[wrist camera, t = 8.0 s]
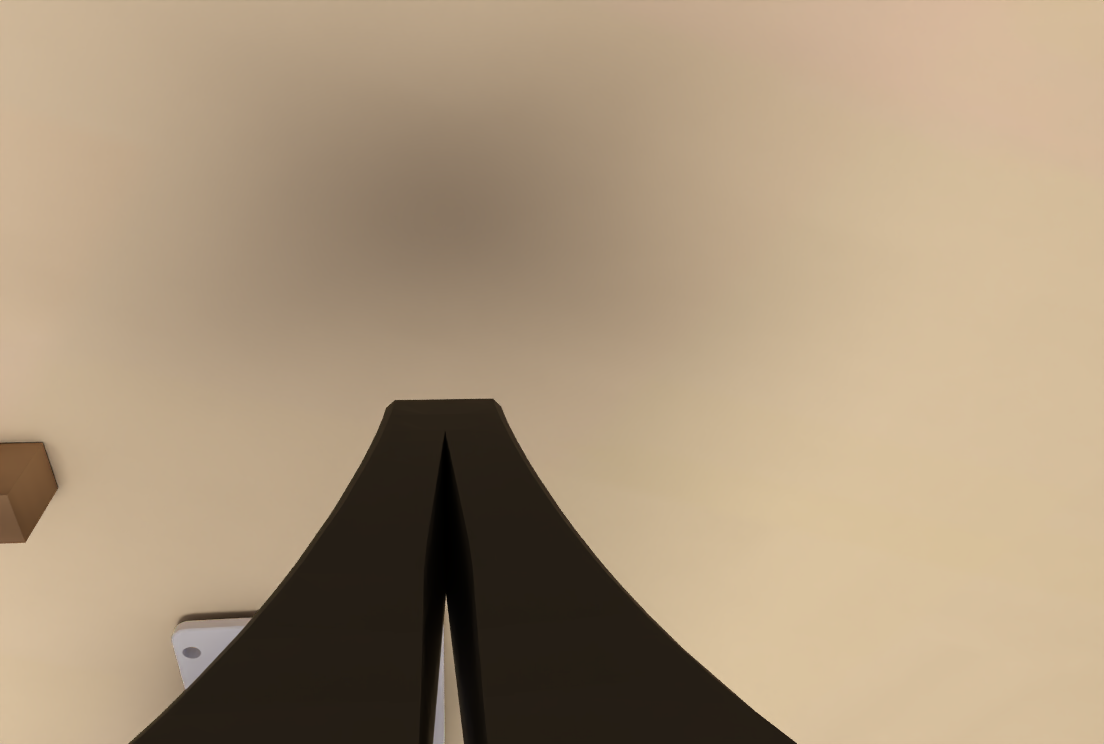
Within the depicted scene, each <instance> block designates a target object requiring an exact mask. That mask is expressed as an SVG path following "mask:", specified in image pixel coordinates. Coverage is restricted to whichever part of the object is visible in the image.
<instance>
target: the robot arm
mask: <svg viewBox="0 0 1104 744" xmlns="http://www.w3.org/2000/svg"><path fill="white" fill-rule="evenodd" d="M446 596H447V605H448V613H449V622H450V630H451V639H452V647H453V655H454V664H455V672H456V680H457V689H458V697H459V705H460V714H461V722H462V730H463V738H464V744H797V743H796V742H794V741H793V740H792V739H790V738H789V737H788V736H787V735H785V734H784V733H783V732H781V731H780V730H779V729H777V728H776V727H775V726H774V725H772V724H771V723H770V722H768V721H767V720H766V719H764V718H763V717H762V716H761V715H759V714H758V713H757V712H755V711H754V710H753V709H752V708H751V707H750V706H748V705H747V704H746V703H745V702H744V701H743V700H741V699H740V698H739V697H738V696H737V695H736V694H735V693H733V692H732V691H731V690H730V689H729V688H728V687H727V686H725V685H724V684H723V683H722V682H721V681H720V680H718V679H717V678H716V677H715V676H714V675H713V674H712V673H710V672H709V671H708V670H707V669H706V668H705V667H704V666H702V665H701V664H700V663H699V662H698V661H697V660H695V659H694V658H693V657H692V656H691V655H690V654H689V653H687V652H686V651H685V650H684V649H683V648H682V647H681V646H680V645H679V644H678V643H677V642H676V641H675V640H674V639H673V638H672V637H671V636H670V635H669V634H668V633H667V632H666V631H665V630H664V629H663V628H662V627H661V626H660V625H659V624H658V623H657V622H656V621H654V620H653V619H652V618H651V617H650V616H649V615H648V614H647V613H646V611H645V610H644V609H643V608H642V607H641V606H640V605H639V604H638V603H637V602H636V601H635V600H634V599H633V598H632V596H631V595H630V594H629V593H628V592H627V591H626V590H625V589H624V588H623V587H622V586H621V585H620V583H619V582H618V581H617V580H616V579H615V578H614V577H613V575H612V574H611V573H610V572H609V571H608V570H607V569H606V567H605V566H604V565H603V564H602V563H601V561H600V560H599V559H598V558H597V557H596V555H595V554H594V553H593V552H592V550H591V549H590V548H589V546H588V545H587V544H586V543H585V541H584V540H583V539H582V538H581V536H580V535H579V534H578V532H577V531H576V530H575V529H574V527H573V526H572V525H571V523H570V522H569V520H568V519H567V518H566V516H565V515H564V514H563V512H562V511H561V509H560V508H559V507H558V505H557V504H556V502H555V501H554V499H553V498H552V496H551V495H550V493H549V492H548V490H547V489H546V487H545V486H544V484H543V483H542V481H541V480H540V478H539V477H538V475H537V474H536V472H535V470H534V469H533V467H532V466H531V464H530V462H529V461H528V459H527V457H526V456H525V454H524V452H523V450H522V449H521V447H520V445H519V443H518V442H517V440H516V438H515V436H514V434H513V432H512V430H511V428H510V426H509V424H508V422H507V420H506V417H505V415H504V413H503V410H502V408H501V406H500V405H499V404H498V403H497V402H496V401H495V400H494V399H444V400H395V401H394V402H393V403H391V404H390V405H389V406H388V407H387V408H386V410H385V413H384V416H383V419H382V421H381V424H380V426H379V429H378V431H377V433H376V435H375V437H374V439H373V442H372V444H371V446H370V448H369V449H368V451H367V453H366V455H365V457H364V459H363V461H362V463H361V465H360V466H359V468H358V470H357V472H356V473H355V475H354V477H353V478H352V480H351V482H350V483H349V485H348V487H347V488H346V490H345V492H344V493H343V495H342V497H341V498H340V500H339V502H338V503H337V505H336V507H335V508H334V510H333V511H332V513H331V514H330V516H329V517H328V519H327V520H326V522H325V523H324V524H323V526H322V527H321V529H320V530H319V532H318V533H317V534H316V536H315V537H314V539H313V540H312V542H311V543H310V544H309V546H308V547H307V549H306V550H305V552H304V553H303V554H302V556H301V557H300V559H299V560H298V562H297V563H296V564H295V566H294V567H293V568H292V569H291V571H290V572H289V573H288V575H287V576H286V577H285V579H284V580H283V581H282V582H281V584H280V585H279V586H278V587H277V589H276V590H275V591H274V592H273V594H272V595H271V596H270V597H269V599H268V600H267V601H266V602H265V603H264V605H263V606H262V607H261V608H260V609H259V610H258V612H257V613H256V614H255V615H254V616H253V617H251V618H232V619H212V620H193V621H185V622H182V623H180V624H178V625H177V626H176V627H175V629H174V632H173V635H172V645H173V648H174V652H175V656H176V659H177V663H178V666H179V670H180V674H181V677H182V681H183V684H184V688H185V691H184V692H183V693H182V694H181V695H180V696H179V697H178V698H177V699H176V700H175V701H174V702H173V703H172V704H171V705H170V706H169V707H168V708H167V709H166V710H165V711H164V712H163V713H162V714H161V715H160V716H158V717H157V718H156V719H155V720H154V721H153V722H152V723H151V724H150V725H149V726H147V727H146V728H145V729H144V730H143V731H142V732H141V733H140V734H139V735H138V736H137V737H135V738H134V739H133V740H132V741H131V742H130V743H129V744H445V714H444V611H445V600H446ZM193 647H195V648H193Z"/></svg>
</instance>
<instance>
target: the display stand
mask: <svg viewBox="0 0 1104 744" xmlns="http://www.w3.org/2000/svg"><path fill="white" fill-rule="evenodd" d="M57 489H58V487H57V484H56V481H55V478H54V475H53V472H52V469H51V466H50V464H49V461H48V458H47V455H46V452H45V449H44V446H43V443H8V444H0V544H1V543H25V542H26V541H27V539H28V537H29V536H30V534H31V532H32V531H33V529H34V527H35V526H36V524H37V522H38V521H39V519H40V517H41V516H42V514H43V512H44V511H45V509H46V507H47V506H48V504H49V502H50V501H51V499H52V498H53V496H54V494H55V493H56V491H57Z"/></svg>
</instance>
